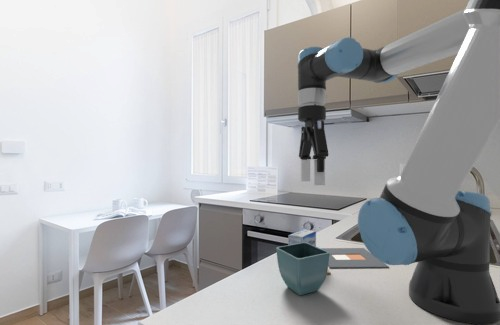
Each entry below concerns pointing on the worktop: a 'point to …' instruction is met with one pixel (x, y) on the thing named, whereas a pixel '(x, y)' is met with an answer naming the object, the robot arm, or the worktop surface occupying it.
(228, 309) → the worktop surface
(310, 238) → the medicine box
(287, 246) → the flower pot
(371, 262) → the mat
